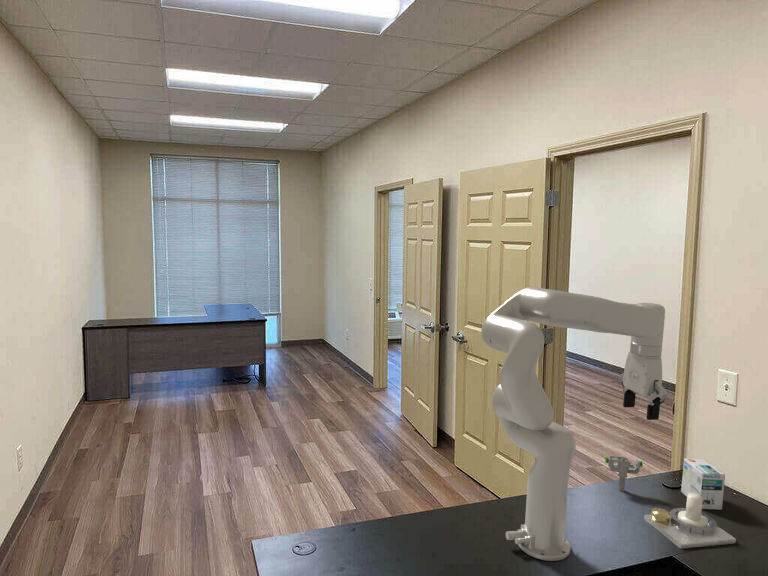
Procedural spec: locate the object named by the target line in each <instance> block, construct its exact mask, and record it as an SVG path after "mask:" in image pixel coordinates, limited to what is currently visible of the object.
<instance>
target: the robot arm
mask: <svg viewBox="0 0 768 576" xmlns="http://www.w3.org/2000/svg"><path fill="white" fill-rule="evenodd" d="M665 318H666V308H665V307H664V306H663V305H662V304H660V303H659V304H658V303H654V302H653V303H652V302H639V303H628V302H627V303H626V302H618V301H615V300H611V299H607V298H604V297H599V296H593V295H589V294H582V293H575V292H574V293H573V292H569V291H562V290H555V289H551V288H550V289H549V288H544V287H537V286H528V287H525V288H523V289H521V290H519V291H518V292H516V293H515V294H514V295H512V296H511V297H509V299H507V300H506V301H505V302H504V303H502V304H501V305H500V306H498V308H496V309H495V310H494V311H493V312H491V313H490V314H489V315H488V317H487V318H486V319H485V320H484V321H483V323H482V327H481V329H480V330H481V332H480V333H481V338H482V341H483V342H484V343H485V344H486V345H487V346H488V347H490V348H491V349H493V350H496V351H498V352H502V353H504V354H506V357H505V359H504V360H503V363H502V366H501V368H500V371H499V375H498V381H499V384H498V385H497V386H496V387H495V389H494V390H493V392H492V393H493V394H492V399H491V402H492V408H493V411H494V413H495V416H496V417H497V419H498V421H499V422H500V424H501V426H502V428H503V429H504V431H505V433H506V435H507V436H508V438H509V439H510V440H511V442H512V443H513V444H514V445H515V446H516V447H518V448H520V449H522V450H523V451H525V452H526V453H528V454H530V455H531V456H533V457H535V462H534V463H533V465H532V466H531V468H530V469H529V471H528V474H527V483H526V485H527V487H526V501H525V504H526V505H525V517H524V524H520V528H518V529H517V530H509V531H508V530H507V531H505V538H506V540H507V541H511V540H514V543H515V545H518V547H519V548H520V550H521V551H523V552H524V553H526V554H527V555H528V556H531V557H533V558H535V559H539V560H542V561H547V562H549V561H550V562H555V561H561V560H564V559H566V558H567V557H569V556H570V554H571V545H570V544H571V543H570V542H569V541H568V540H567V539H566V538H565V537H566V536H565V535H566V533H565V532H566V521H567V519H566V518H567V507H568V494H569V491H568V490H569V482H570V481H569V480H570V471H571V467H572V463H573V459H574V457H575V453H576V449H577V448H576V440H575V437H574V435H573V434H572V432H570V431H569V430H568V429H567V428H566V427H564V426H563V425H562V424H559V423H557V422H555V421H554V408H553V406H552V403H551V401H550V399H549V397H548V396H547V393H546V392H545V390H544V388H543V386H542V385H541V382H540V381H539V378H538V375H537V372H536V371H537V370H536V369H537V364H538V362H539V359H540V356H541V354H542V352H543V350H544V346H545V336H544V332H543V330H542V329H541V327H540V326H538V325H537V324H541V325H545V326H550V327H556V328H562V329H563V328H564V329H575V330H579V331H581V330H582V331H588V332H594V333H600V334H601V333H603V334H612V335H613V334H615V335H620V336H628V337H630V344H629V345H630V347H629V351H628V353H627V356H626V360H625V365H624V369H623V370H624V371H623V372H622V373H621V374H620V379H621V385H622V392H623V402H622V405H623V408H634V407H635V405H636V397H637V396H636V395H637V394H638V395H640V396H643V397H647V401H648V403H649V404H647V408H646V420H648V421H654V420H655V421H656V420H659V417H660V411H661V410H660V409H661V408H660V407H661V406H662V405H663V403H664V402H665V401H666V400H665V399H666V398H667V396H668V391H667V390H666V389H665V387H664V386H663V361H662V350H663V340H664V330H665ZM535 323H537V324H535ZM653 397H654V398H653Z"/></svg>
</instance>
